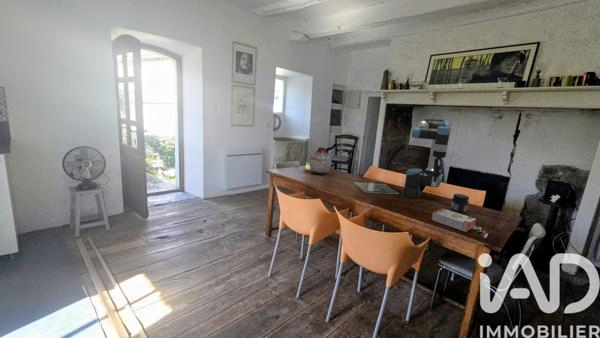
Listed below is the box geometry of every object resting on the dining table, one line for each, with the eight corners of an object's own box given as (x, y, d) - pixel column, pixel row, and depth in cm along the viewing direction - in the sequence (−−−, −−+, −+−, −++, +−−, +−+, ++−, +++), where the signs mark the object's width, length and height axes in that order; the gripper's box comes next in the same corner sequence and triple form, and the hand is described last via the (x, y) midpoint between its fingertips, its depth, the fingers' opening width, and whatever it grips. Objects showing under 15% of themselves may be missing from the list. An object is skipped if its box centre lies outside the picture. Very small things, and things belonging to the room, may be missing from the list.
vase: (319, 170, 297) (321, 146, 291) (335, 175, 280) (337, 149, 274) (304, 172, 282) (305, 146, 276) (319, 177, 265) (321, 150, 259)
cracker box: (441, 207, 178) (476, 218, 163) (440, 215, 180) (474, 227, 164) (432, 211, 169) (468, 223, 154) (430, 220, 171) (466, 232, 155)
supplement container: (469, 212, 190) (473, 197, 187) (461, 214, 185) (464, 198, 182) (455, 207, 199) (458, 192, 196) (446, 209, 194) (450, 194, 191)
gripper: (432, 148, 176) (426, 182, 181) (434, 151, 164) (428, 187, 169) (444, 150, 173) (438, 184, 179) (448, 152, 161) (441, 189, 167)
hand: (433, 185), depth 174 cm, fingers closed
